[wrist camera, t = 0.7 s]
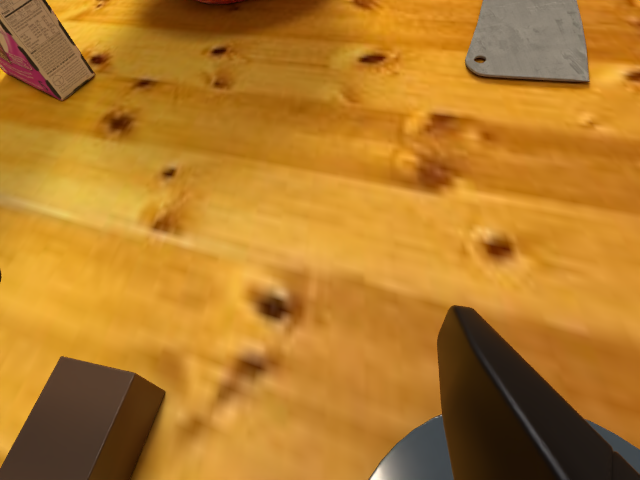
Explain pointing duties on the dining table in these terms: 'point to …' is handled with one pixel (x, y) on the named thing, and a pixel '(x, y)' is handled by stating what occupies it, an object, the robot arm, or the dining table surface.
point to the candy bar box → (40, 49)
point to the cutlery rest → (84, 425)
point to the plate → (434, 461)
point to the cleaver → (529, 41)
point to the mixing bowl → (219, 1)
